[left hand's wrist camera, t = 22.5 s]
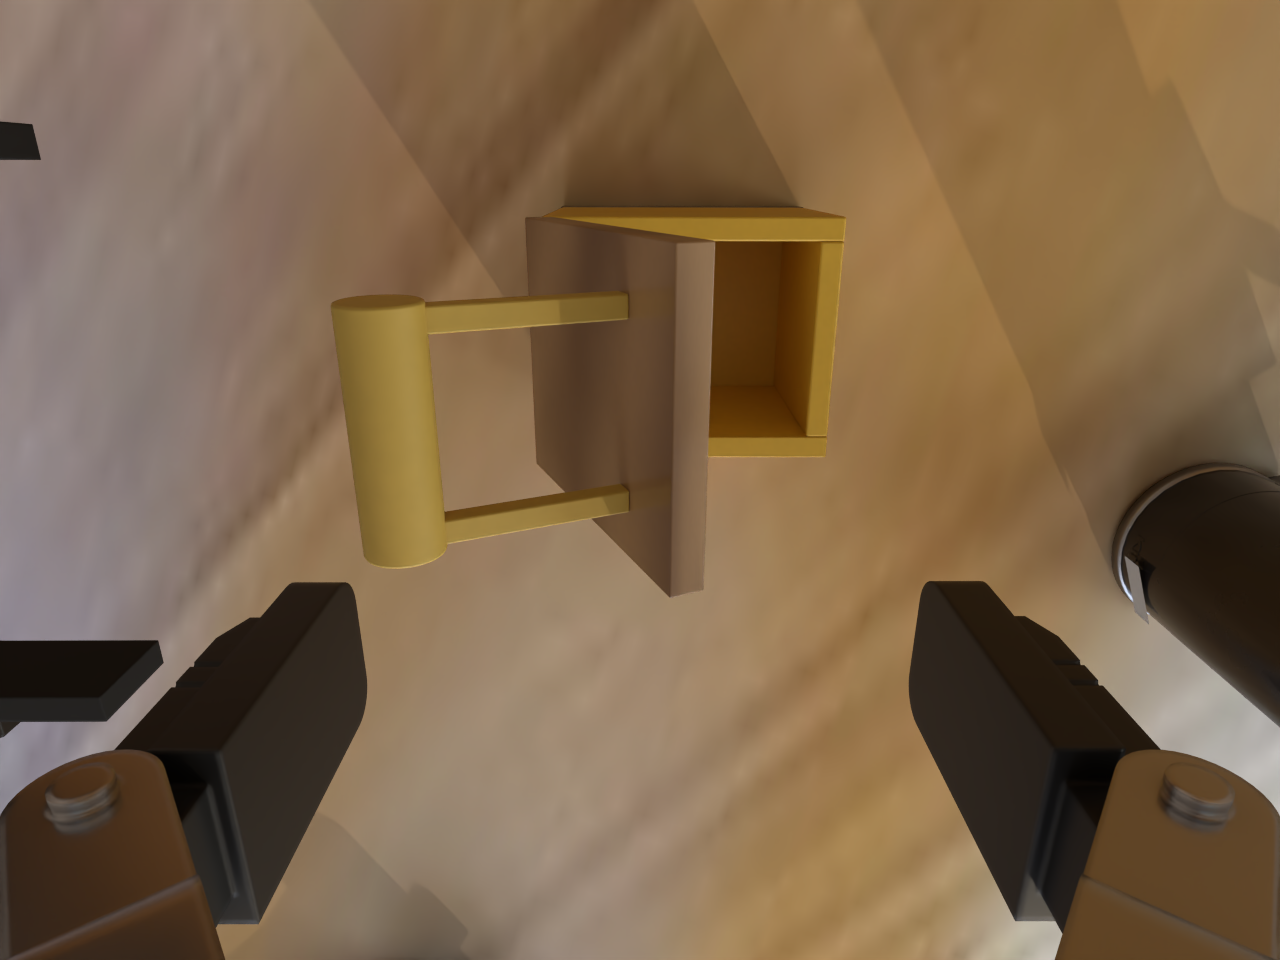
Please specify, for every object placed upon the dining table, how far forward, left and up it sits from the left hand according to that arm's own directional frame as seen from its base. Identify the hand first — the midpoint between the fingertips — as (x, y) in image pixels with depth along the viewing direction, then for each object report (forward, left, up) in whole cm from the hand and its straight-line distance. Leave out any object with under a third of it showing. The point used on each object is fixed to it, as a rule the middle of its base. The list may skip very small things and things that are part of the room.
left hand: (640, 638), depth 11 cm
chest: (-2, 0, -31) cm, 31 cm away
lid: (+1, 0, -16) cm, 16 cm away
